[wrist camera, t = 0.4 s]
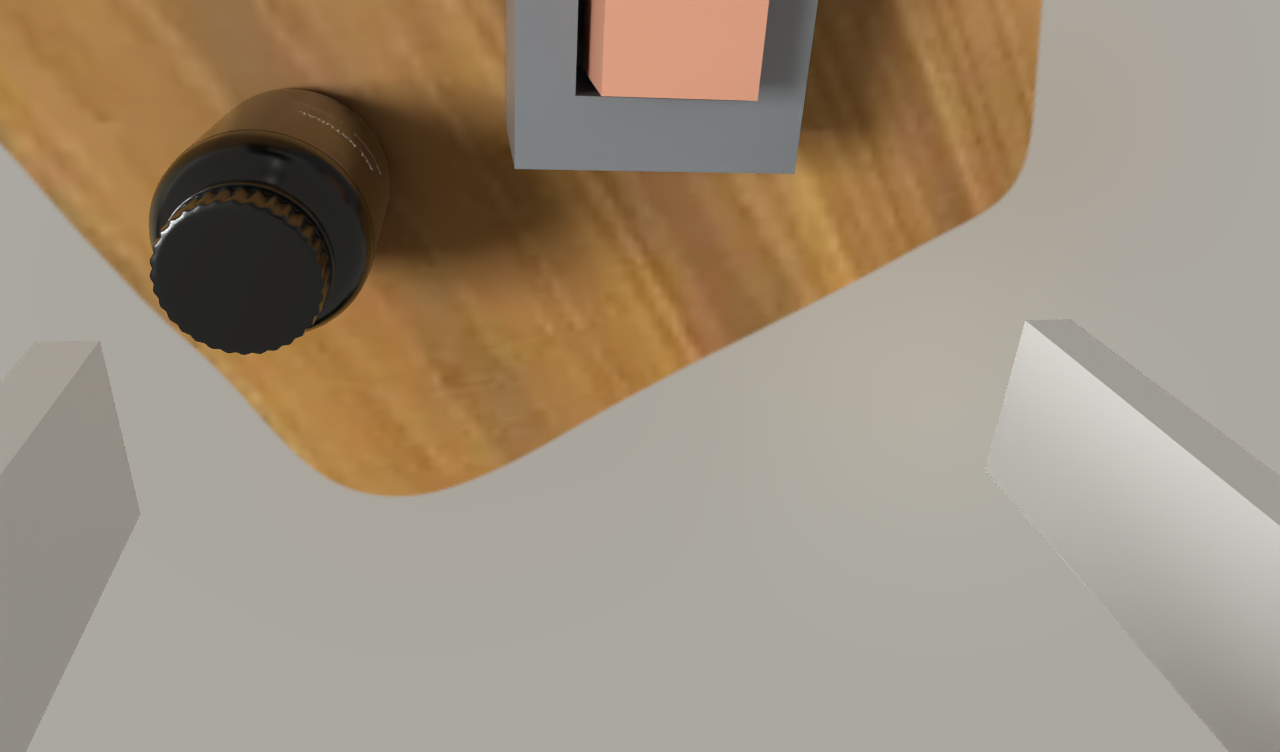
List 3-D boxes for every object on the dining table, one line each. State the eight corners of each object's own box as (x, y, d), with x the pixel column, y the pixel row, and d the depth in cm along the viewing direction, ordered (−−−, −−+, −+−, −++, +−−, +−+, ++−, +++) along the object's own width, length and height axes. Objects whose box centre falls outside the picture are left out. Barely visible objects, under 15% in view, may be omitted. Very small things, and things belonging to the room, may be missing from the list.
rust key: (587, -89, 31) (609, -84, 27) (733, -79, 32) (777, -73, 28) (582, 68, 34) (601, 96, 29) (719, 73, 34) (757, 101, 30)
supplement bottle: (395, 96, 37) (371, 180, 26) (387, 261, 40) (362, 396, 29) (205, 71, 35) (99, 150, 25) (211, 245, 38) (119, 382, 28)
